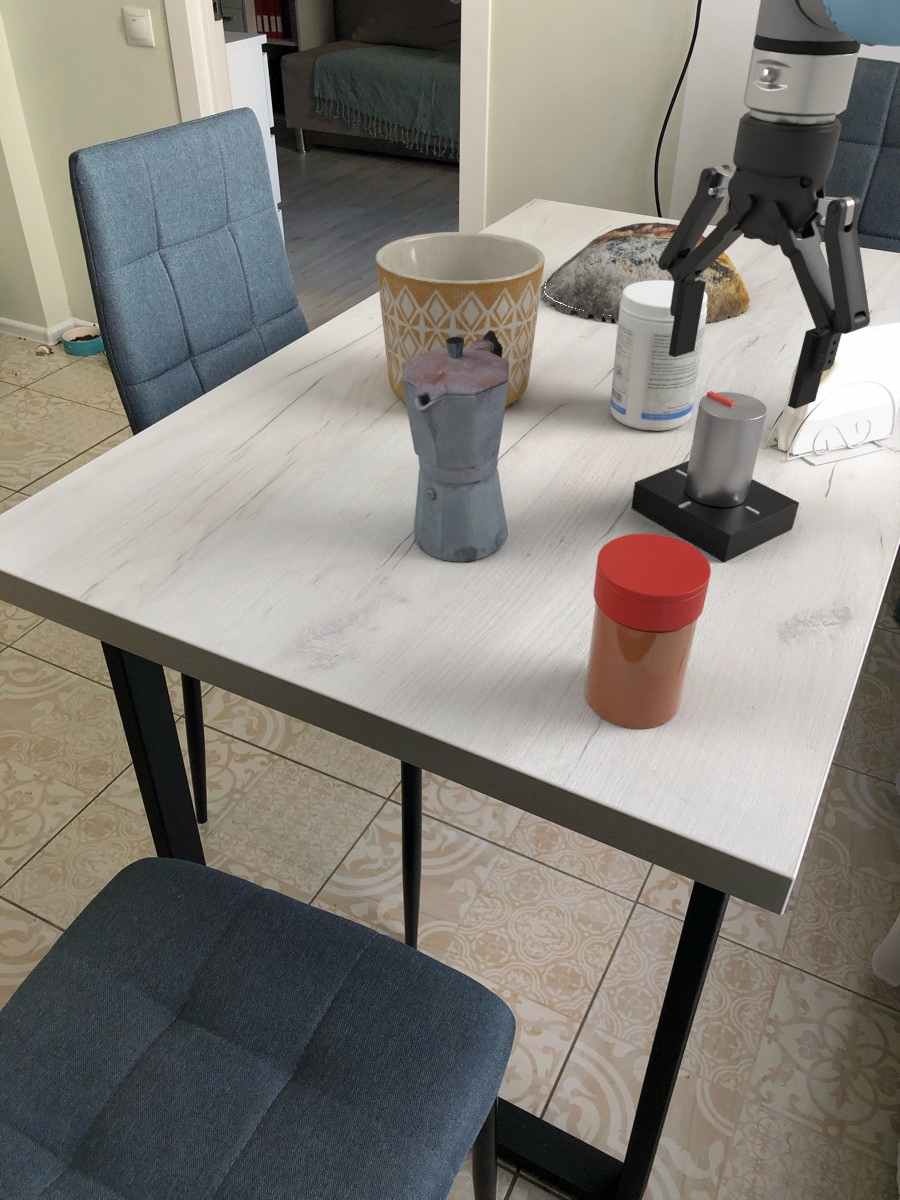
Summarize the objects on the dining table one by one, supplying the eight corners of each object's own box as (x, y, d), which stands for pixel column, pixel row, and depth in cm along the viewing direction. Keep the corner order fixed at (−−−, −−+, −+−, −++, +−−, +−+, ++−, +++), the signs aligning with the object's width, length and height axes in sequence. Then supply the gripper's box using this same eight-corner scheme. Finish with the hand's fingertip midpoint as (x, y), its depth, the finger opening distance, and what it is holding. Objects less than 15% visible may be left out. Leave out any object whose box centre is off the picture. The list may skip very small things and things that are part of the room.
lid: (611, 557, 70) (615, 523, 68) (713, 582, 68) (721, 547, 66) (579, 614, 65) (583, 578, 63) (690, 643, 62) (697, 607, 60)
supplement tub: (700, 410, 113) (722, 287, 104) (674, 441, 106) (695, 313, 97) (624, 393, 117) (640, 273, 108) (595, 422, 110) (608, 297, 101)
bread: (770, 328, 135) (785, 257, 129) (544, 324, 136) (548, 253, 130) (729, 269, 157) (741, 206, 151) (535, 266, 158) (538, 204, 152)
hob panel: (793, 528, 91) (800, 500, 89) (723, 563, 86) (729, 534, 85) (699, 479, 99) (704, 452, 97) (630, 508, 94) (634, 480, 92)
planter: (565, 405, 114) (577, 266, 104) (422, 437, 106) (420, 291, 97) (488, 350, 127) (492, 224, 118) (357, 376, 120) (349, 243, 110)
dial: (760, 495, 90) (781, 405, 85) (719, 514, 88) (738, 422, 82) (712, 470, 94) (729, 383, 89) (671, 488, 91) (686, 399, 86)
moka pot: (379, 565, 86) (369, 355, 74) (445, 488, 97) (446, 295, 85) (476, 589, 83) (482, 374, 71) (532, 507, 94) (546, 310, 82)
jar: (699, 703, 71) (727, 579, 64) (632, 743, 68) (653, 616, 61) (631, 654, 76) (650, 533, 69) (565, 688, 72) (578, 565, 65)
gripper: (638, 95, 78) (610, 342, 90) (912, 148, 62) (831, 440, 74) (700, 87, 81) (664, 326, 94) (974, 135, 65) (886, 416, 78)
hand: (738, 377), depth 84 cm, fingers open, 13 cm apart
